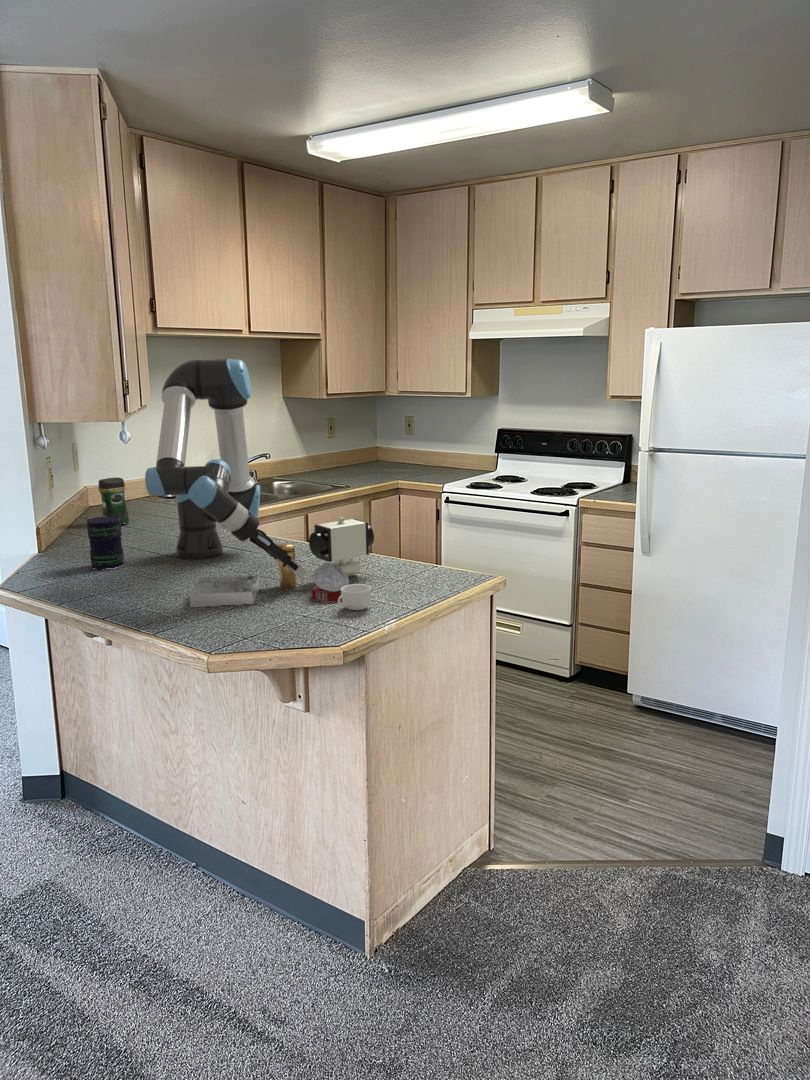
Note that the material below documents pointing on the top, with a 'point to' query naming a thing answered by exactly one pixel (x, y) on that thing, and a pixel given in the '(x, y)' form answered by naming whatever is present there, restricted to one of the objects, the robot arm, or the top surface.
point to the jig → (224, 591)
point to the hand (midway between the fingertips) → (300, 572)
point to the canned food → (328, 582)
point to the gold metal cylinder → (286, 574)
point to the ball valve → (342, 543)
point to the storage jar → (105, 542)
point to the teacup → (355, 596)
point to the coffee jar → (113, 498)
